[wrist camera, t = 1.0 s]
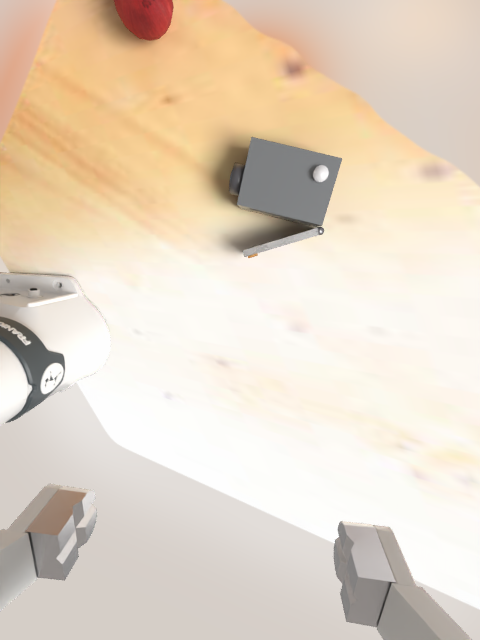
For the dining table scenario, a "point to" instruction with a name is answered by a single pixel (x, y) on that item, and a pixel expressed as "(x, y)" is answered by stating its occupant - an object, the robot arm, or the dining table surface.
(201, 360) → the dining table surface
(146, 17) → the onion
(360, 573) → the robot arm
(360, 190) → the dining table surface
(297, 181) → the camera body
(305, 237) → the side door
